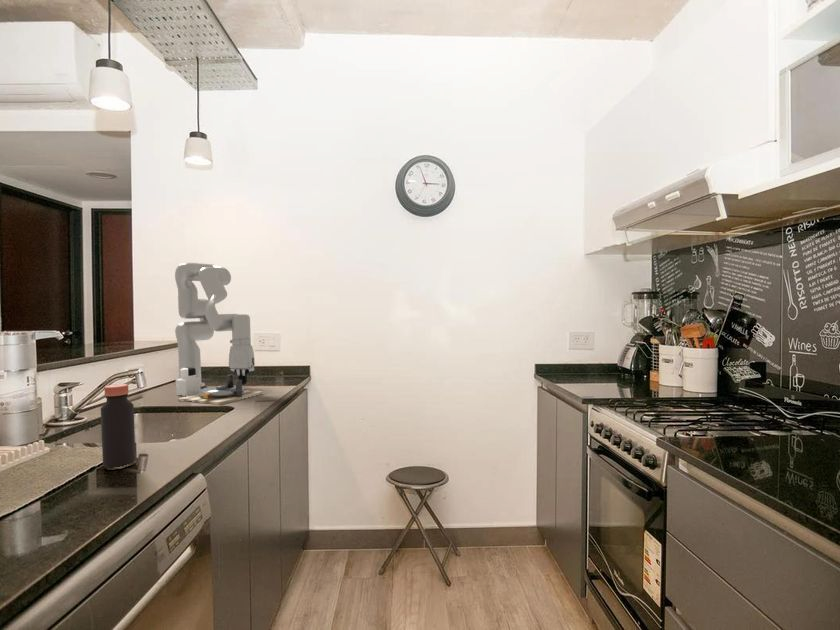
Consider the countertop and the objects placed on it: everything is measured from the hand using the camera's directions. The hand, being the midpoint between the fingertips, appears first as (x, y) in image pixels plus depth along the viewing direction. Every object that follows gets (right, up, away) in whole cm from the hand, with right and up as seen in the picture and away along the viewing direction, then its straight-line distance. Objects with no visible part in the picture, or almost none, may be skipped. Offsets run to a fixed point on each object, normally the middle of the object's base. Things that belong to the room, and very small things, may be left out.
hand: (242, 384), depth 206 cm
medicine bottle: (-24, -5, +2) cm, 25 cm away
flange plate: (-7, -3, -7) cm, 10 cm away
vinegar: (+4, -7, -90) cm, 91 cm away
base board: (-7, -5, -5) cm, 10 cm away
